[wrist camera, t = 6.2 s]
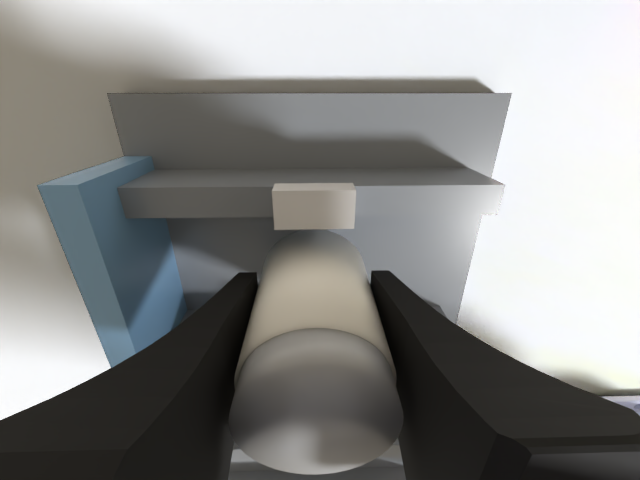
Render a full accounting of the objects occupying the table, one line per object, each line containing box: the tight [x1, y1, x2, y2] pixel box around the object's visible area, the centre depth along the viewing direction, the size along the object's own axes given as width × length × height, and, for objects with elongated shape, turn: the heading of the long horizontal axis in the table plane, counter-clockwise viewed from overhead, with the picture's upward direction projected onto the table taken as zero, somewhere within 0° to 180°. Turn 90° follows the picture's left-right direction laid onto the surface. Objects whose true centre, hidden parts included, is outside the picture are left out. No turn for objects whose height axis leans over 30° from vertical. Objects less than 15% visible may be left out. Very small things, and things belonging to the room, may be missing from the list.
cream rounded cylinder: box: [228, 229, 404, 475], centre depth 9 cm, size 4×4×6 cm
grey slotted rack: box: [37, 93, 512, 480], centre depth 15 cm, size 14×26×5 cm, turn 0°
